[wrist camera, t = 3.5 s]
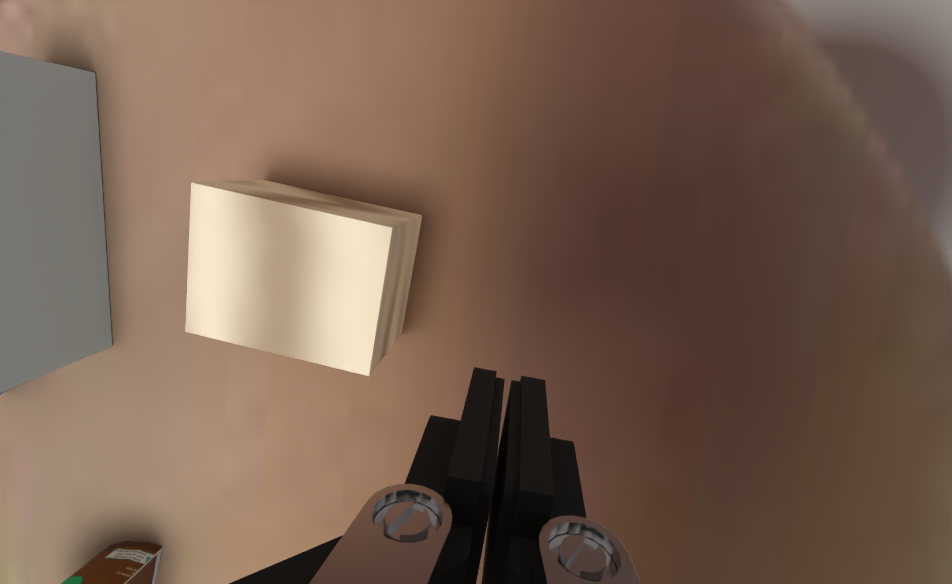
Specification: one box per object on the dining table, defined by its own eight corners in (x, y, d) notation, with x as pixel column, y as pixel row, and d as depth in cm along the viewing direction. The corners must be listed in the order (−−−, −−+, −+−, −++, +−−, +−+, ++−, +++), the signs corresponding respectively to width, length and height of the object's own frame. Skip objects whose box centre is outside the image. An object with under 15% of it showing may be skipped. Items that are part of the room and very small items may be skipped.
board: (95, 72, 25) (-62, 37, 19) (112, 345, 30) (-11, 397, 23) (44, 65, 26) (-130, 27, 19) (68, 337, 30) (-67, 386, 23)
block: (423, 214, 26) (392, 227, 20) (402, 332, 27) (368, 375, 22) (266, 179, 26) (191, 182, 20) (256, 298, 28) (185, 331, 22)
